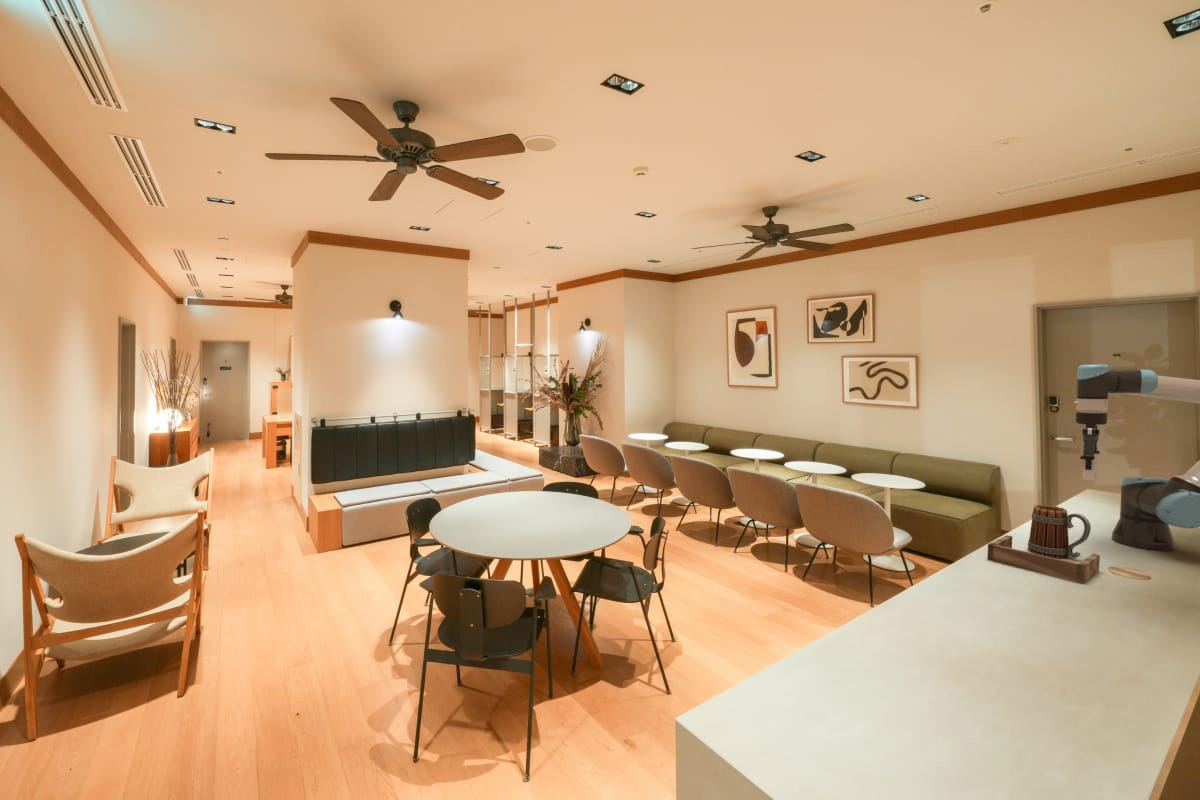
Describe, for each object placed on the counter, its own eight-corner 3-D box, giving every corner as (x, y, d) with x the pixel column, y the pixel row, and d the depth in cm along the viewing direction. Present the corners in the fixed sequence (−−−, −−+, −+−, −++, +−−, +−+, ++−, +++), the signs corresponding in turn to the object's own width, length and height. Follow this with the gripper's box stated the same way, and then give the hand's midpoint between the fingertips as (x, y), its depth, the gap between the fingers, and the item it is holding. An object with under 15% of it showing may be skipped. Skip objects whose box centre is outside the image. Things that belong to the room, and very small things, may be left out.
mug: (1020, 550, 176) (1022, 506, 175) (1038, 545, 181) (1040, 502, 180) (1078, 566, 162) (1081, 518, 161) (1096, 560, 167) (1098, 513, 166)
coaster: (1112, 566, 163) (1112, 564, 163) (1154, 576, 155) (1154, 573, 155) (1103, 573, 157) (1104, 570, 157) (1146, 583, 150) (1147, 580, 150)
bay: (1006, 549, 177) (1006, 535, 177) (1099, 571, 158) (1099, 554, 158) (987, 559, 168) (988, 544, 168) (1083, 583, 149) (1084, 566, 149)
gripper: (1078, 408, 185) (1077, 469, 186) (1072, 414, 167) (1070, 480, 168) (1108, 409, 179) (1106, 472, 180) (1105, 415, 162) (1103, 484, 163)
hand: (1089, 476), depth 174 cm, fingers open, 13 cm apart
